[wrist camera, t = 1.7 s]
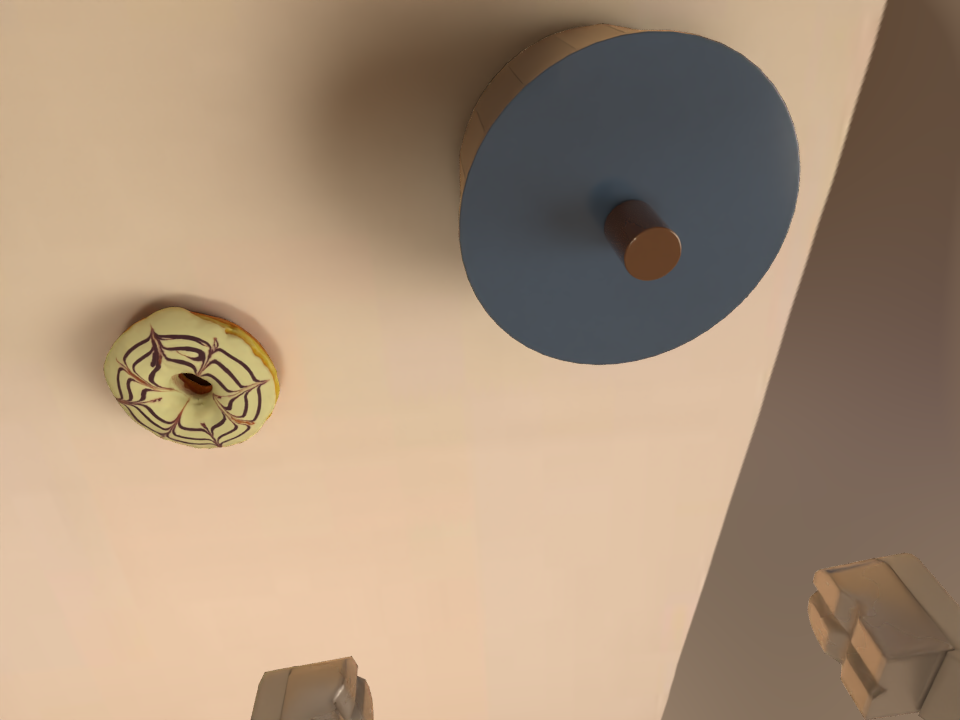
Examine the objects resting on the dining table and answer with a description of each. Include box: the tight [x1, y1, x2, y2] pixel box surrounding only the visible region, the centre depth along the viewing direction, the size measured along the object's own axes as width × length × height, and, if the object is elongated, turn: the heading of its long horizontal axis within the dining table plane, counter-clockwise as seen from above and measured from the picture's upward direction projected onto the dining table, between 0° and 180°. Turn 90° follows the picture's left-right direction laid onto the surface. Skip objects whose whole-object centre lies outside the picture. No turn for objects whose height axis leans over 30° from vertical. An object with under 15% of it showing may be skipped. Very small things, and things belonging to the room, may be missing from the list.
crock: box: [459, 23, 639, 198], centre depth 33 cm, size 16×16×8 cm
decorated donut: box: [104, 307, 280, 449], centre depth 41 cm, size 10×11×4 cm
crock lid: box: [459, 30, 800, 365], centre depth 28 cm, size 17×17×5 cm
